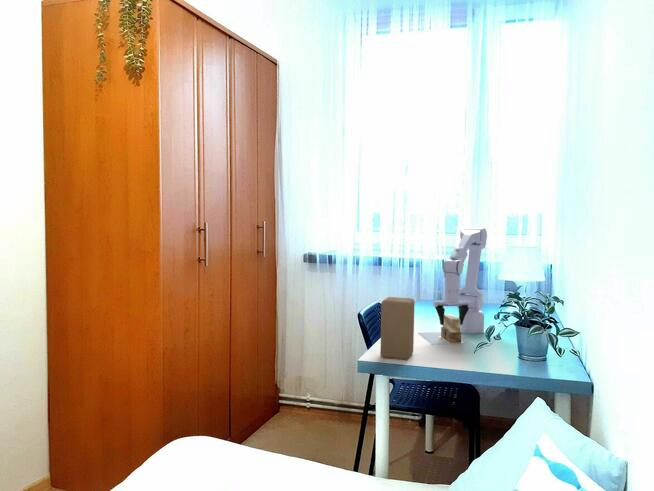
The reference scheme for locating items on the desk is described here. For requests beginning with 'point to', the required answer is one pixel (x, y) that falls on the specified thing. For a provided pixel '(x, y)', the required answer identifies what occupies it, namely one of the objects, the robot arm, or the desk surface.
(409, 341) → the wooden block
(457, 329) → the tan rectangular block
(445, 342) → the board
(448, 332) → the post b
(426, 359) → the desk surface
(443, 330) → the brown wooden cube
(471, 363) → the desk surface
